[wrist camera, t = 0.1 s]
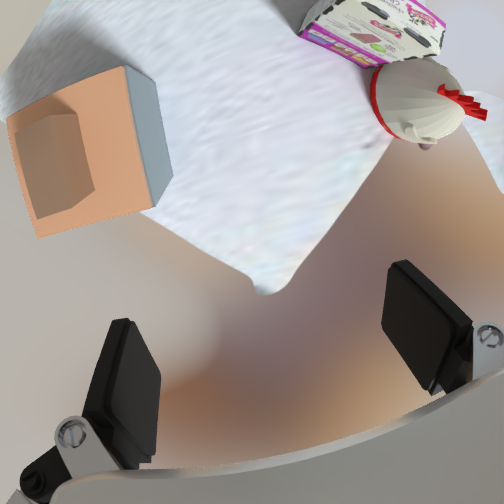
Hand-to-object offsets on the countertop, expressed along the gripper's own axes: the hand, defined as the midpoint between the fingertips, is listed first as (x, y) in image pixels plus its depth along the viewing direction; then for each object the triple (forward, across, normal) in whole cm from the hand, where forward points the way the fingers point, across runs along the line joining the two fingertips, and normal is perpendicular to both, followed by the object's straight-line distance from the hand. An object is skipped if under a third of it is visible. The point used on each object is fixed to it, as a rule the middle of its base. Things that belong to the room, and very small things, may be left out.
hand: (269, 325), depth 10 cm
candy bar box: (+31, -18, -17) cm, 40 cm away
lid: (+19, +13, -7) cm, 24 cm away
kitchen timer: (+32, -29, -8) cm, 44 cm away
